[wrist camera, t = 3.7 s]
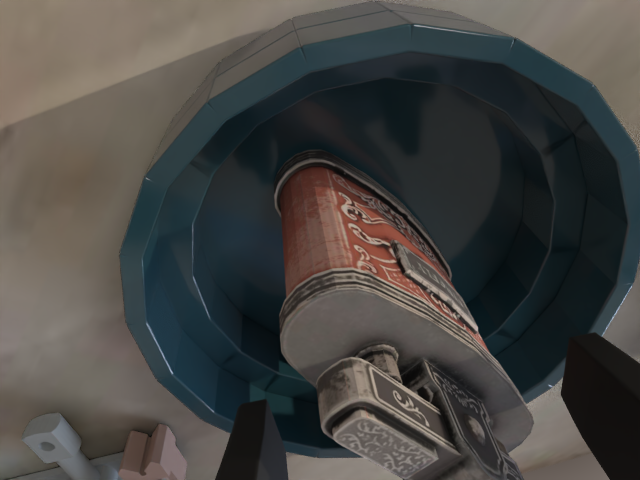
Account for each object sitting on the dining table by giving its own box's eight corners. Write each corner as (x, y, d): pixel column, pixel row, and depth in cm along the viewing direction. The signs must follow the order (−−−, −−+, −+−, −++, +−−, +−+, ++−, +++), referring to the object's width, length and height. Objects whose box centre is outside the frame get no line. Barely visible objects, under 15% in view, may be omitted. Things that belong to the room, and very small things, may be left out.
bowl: (589, -47, 14) (710, -40, 10) (546, 332, 22) (604, 413, 18) (76, 60, 14) (7, 106, 10) (223, 396, 22) (215, 490, 19)
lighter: (463, 260, 19) (621, 517, 11) (399, 311, 20) (496, 580, 12) (320, 126, 16) (387, 352, 7) (251, 196, 17) (239, 463, 8)
